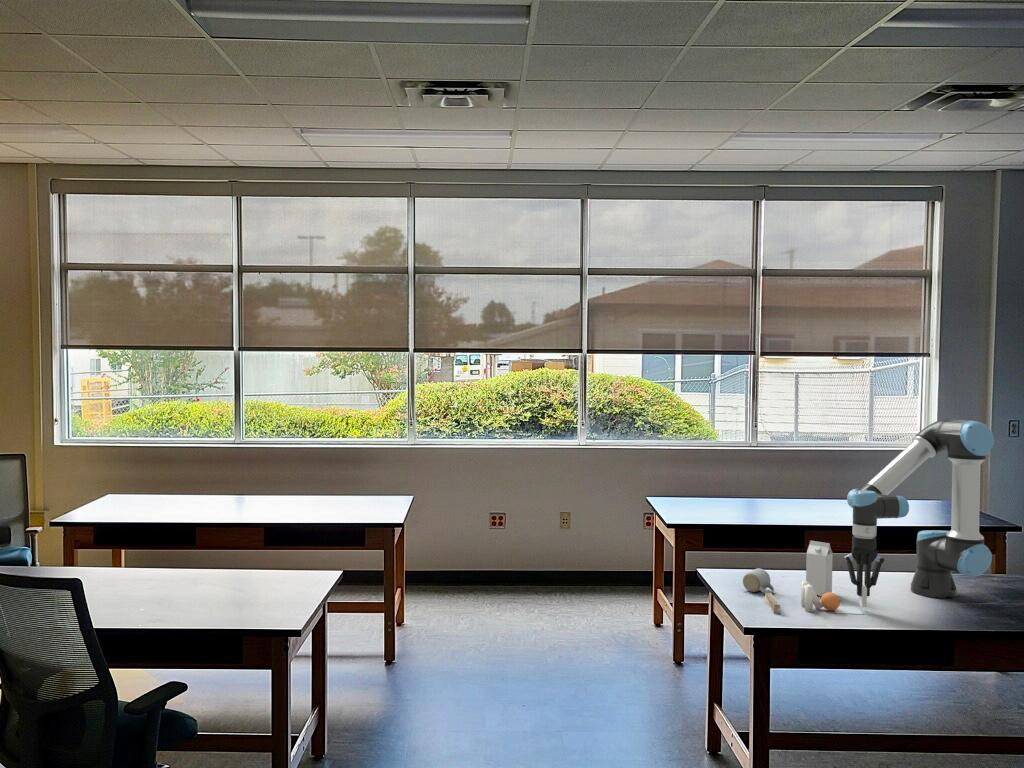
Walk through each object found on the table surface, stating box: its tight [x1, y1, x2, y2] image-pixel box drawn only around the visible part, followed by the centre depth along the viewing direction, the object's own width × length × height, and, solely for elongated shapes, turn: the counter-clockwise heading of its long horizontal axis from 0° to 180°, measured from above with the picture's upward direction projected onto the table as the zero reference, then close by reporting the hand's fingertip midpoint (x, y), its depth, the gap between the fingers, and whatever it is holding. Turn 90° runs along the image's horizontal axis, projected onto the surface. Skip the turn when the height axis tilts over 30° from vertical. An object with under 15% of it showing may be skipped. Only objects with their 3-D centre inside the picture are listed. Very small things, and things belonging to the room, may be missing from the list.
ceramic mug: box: [742, 568, 775, 595], centre depth 292 cm, size 11×8×8 cm
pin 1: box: [800, 580, 809, 608], centre depth 274 cm, size 2×2×8 cm
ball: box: [820, 592, 841, 612], centre depth 270 cm, size 6×6×6 cm
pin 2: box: [804, 585, 814, 613], centre depth 269 cm, size 2×2×8 cm
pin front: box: [804, 584, 824, 610], centre depth 271 cm, size 2×2×8 cm
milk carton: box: [805, 540, 834, 597], centre depth 290 cm, size 7×7×19 cm
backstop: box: [764, 593, 781, 615], centre depth 272 cm, size 2×14×3 cm, turn 174°
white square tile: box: [833, 605, 864, 615], centre depth 270 cm, size 9×8×1 cm
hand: (863, 605), depth 269 cm, fingers closed
